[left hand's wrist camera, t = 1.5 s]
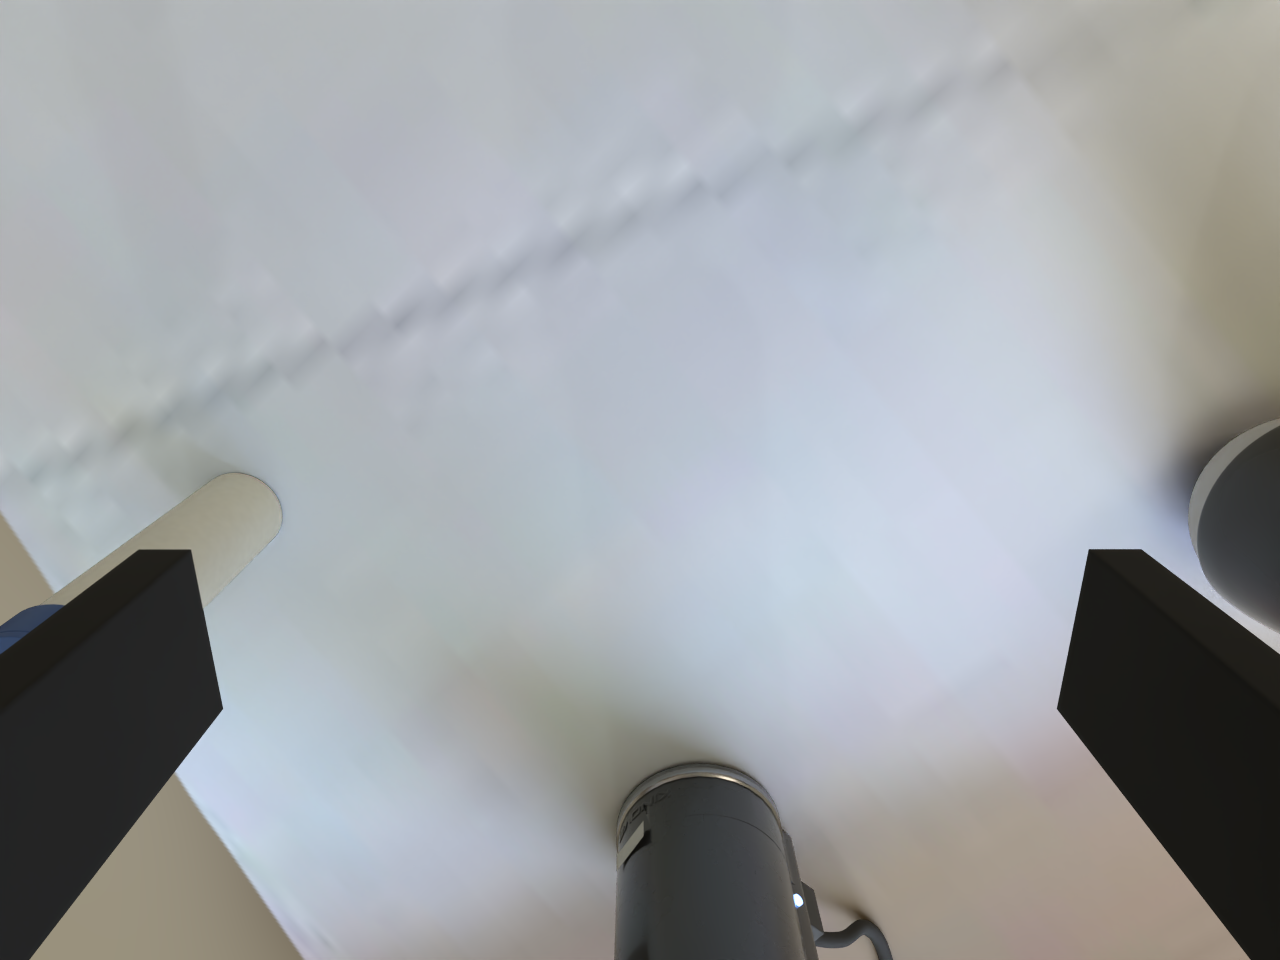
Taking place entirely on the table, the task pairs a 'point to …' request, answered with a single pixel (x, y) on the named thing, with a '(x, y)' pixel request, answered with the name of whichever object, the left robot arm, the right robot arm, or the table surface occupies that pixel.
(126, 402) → the table surface
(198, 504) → the jar
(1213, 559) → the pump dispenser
